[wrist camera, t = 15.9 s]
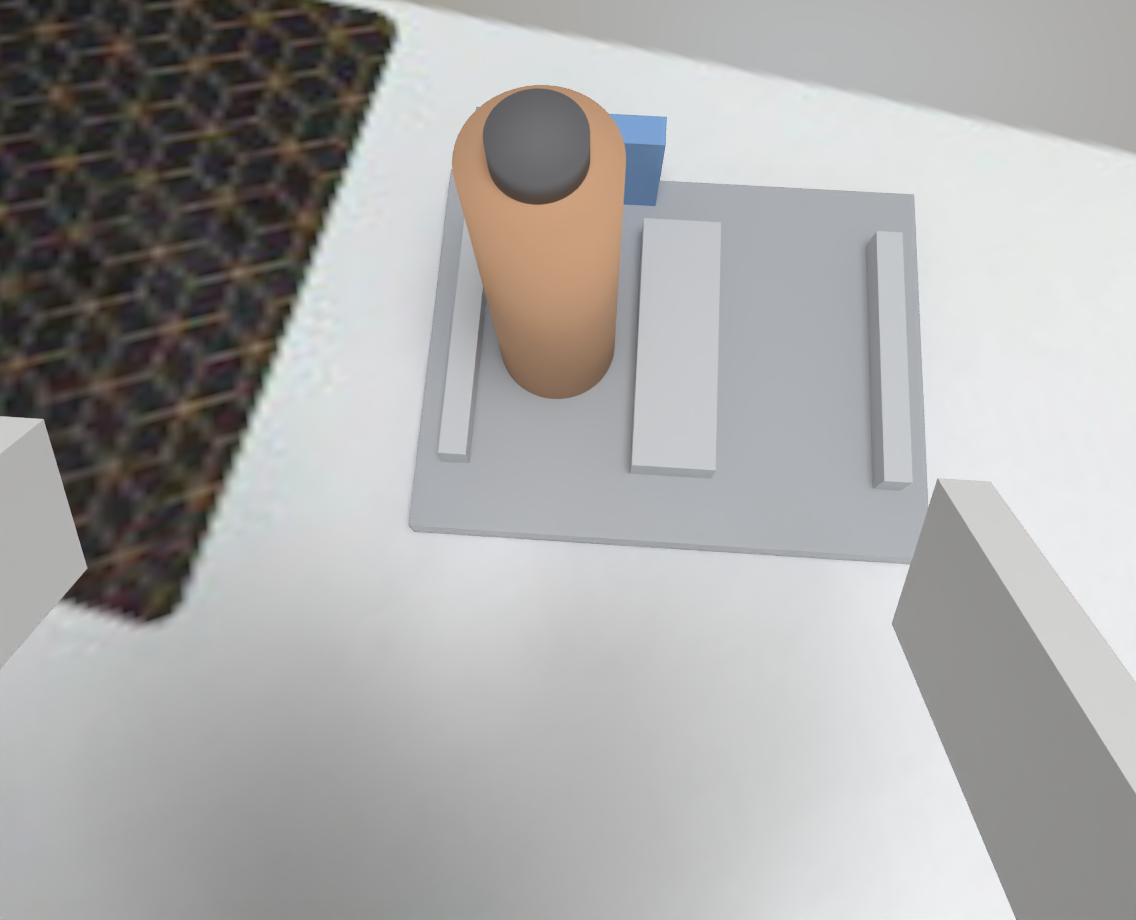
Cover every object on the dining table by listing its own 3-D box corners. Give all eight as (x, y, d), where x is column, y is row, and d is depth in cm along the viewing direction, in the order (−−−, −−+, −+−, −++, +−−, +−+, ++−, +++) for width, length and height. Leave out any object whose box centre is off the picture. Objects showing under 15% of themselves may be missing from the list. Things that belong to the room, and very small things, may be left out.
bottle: (478, 339, 33) (409, 127, 21) (564, 272, 34) (548, 26, 21) (550, 421, 32) (523, 249, 20) (638, 350, 33) (665, 141, 20)
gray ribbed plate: (917, 564, 32) (981, 540, 27) (414, 531, 33) (385, 501, 28) (903, 210, 36) (956, 132, 31) (454, 185, 36) (435, 104, 31)
